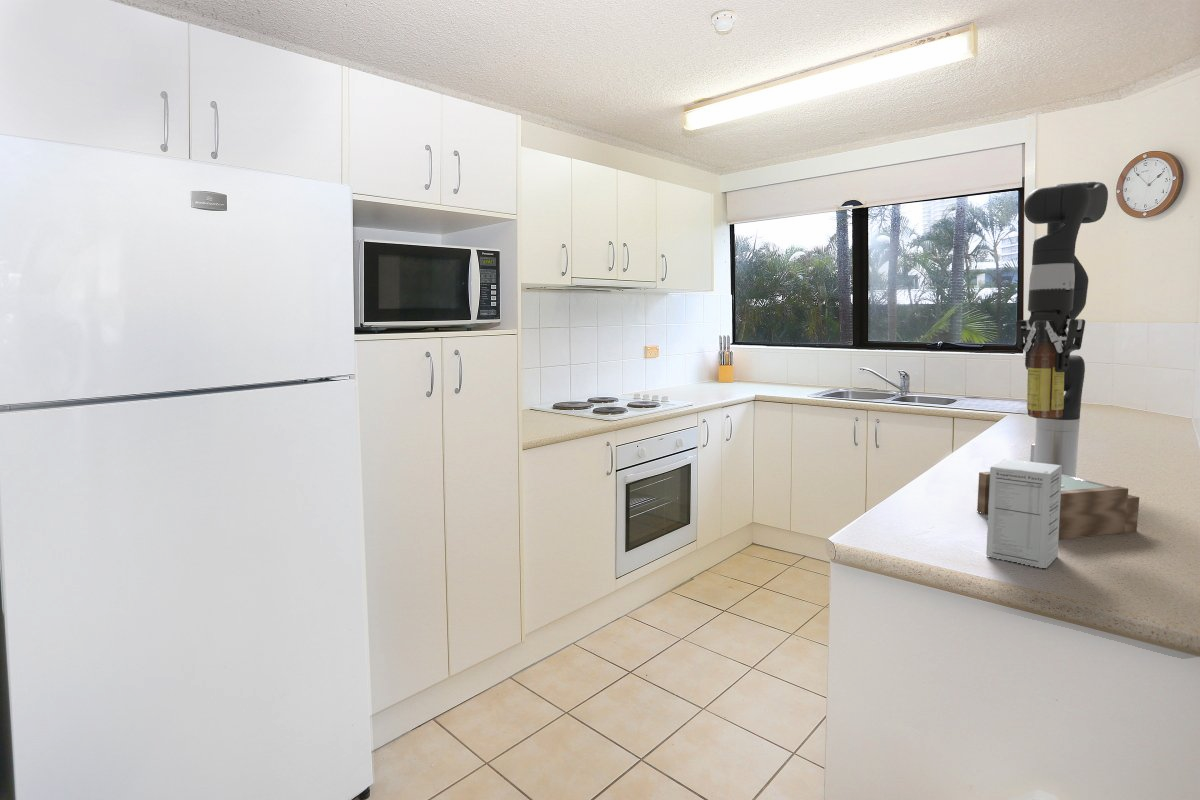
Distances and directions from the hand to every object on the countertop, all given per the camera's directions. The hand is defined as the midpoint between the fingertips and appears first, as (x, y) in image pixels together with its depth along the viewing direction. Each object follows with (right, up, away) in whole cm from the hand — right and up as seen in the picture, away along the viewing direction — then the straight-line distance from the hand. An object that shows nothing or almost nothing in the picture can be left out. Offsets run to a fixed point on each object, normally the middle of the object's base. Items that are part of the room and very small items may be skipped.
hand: (1046, 370), depth 134 cm
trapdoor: (+3, -24, +4) cm, 25 cm away
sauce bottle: (0, -10, +1) cm, 10 cm away
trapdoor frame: (+5, -32, +5) cm, 32 cm away
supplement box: (-15, -35, -16) cm, 41 cm away
